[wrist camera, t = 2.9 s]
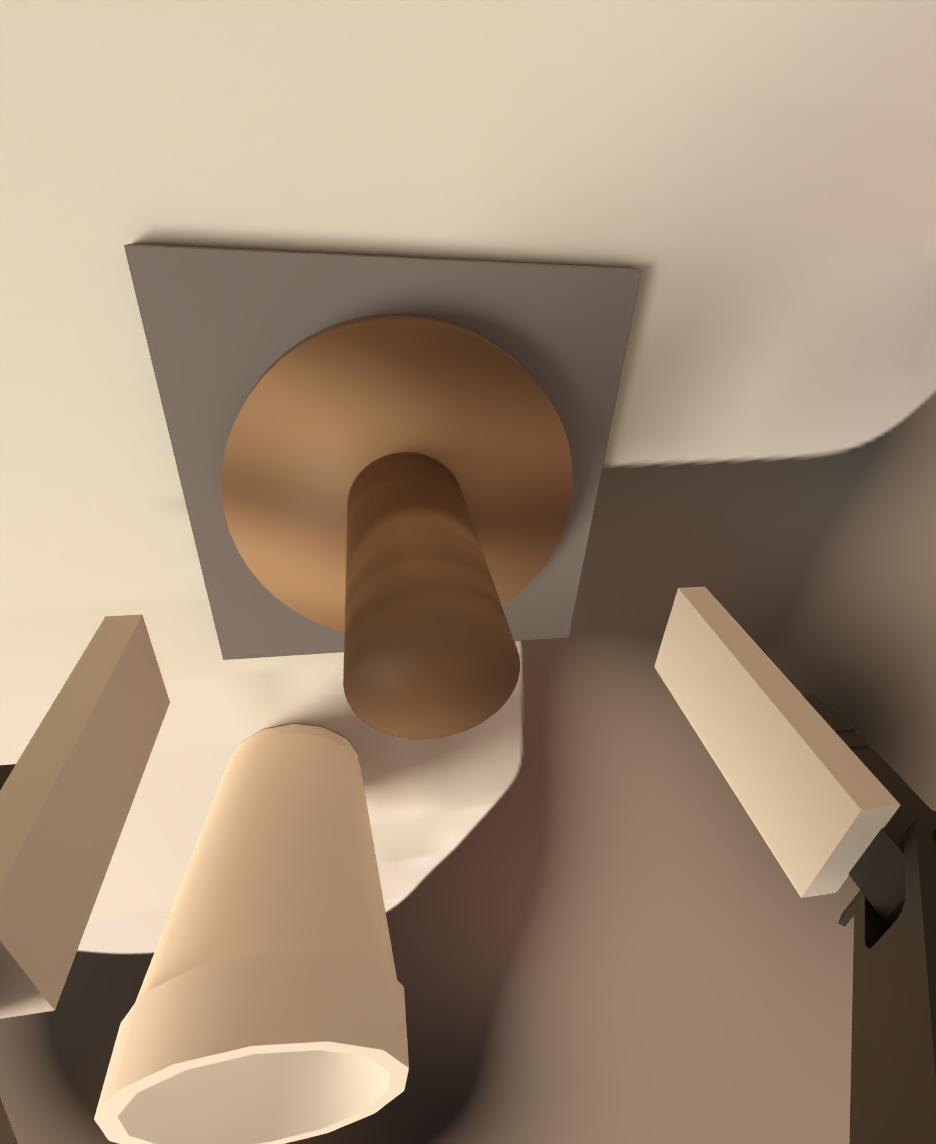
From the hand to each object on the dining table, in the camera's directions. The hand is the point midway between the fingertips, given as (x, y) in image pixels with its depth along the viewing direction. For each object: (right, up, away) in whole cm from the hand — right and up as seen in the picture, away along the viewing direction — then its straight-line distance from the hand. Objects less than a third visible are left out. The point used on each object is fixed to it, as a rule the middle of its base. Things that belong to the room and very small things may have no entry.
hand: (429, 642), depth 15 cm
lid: (-1, +5, +6) cm, 8 cm away
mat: (-1, +5, +7) cm, 9 cm away
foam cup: (-8, -8, +15) cm, 18 cm away
